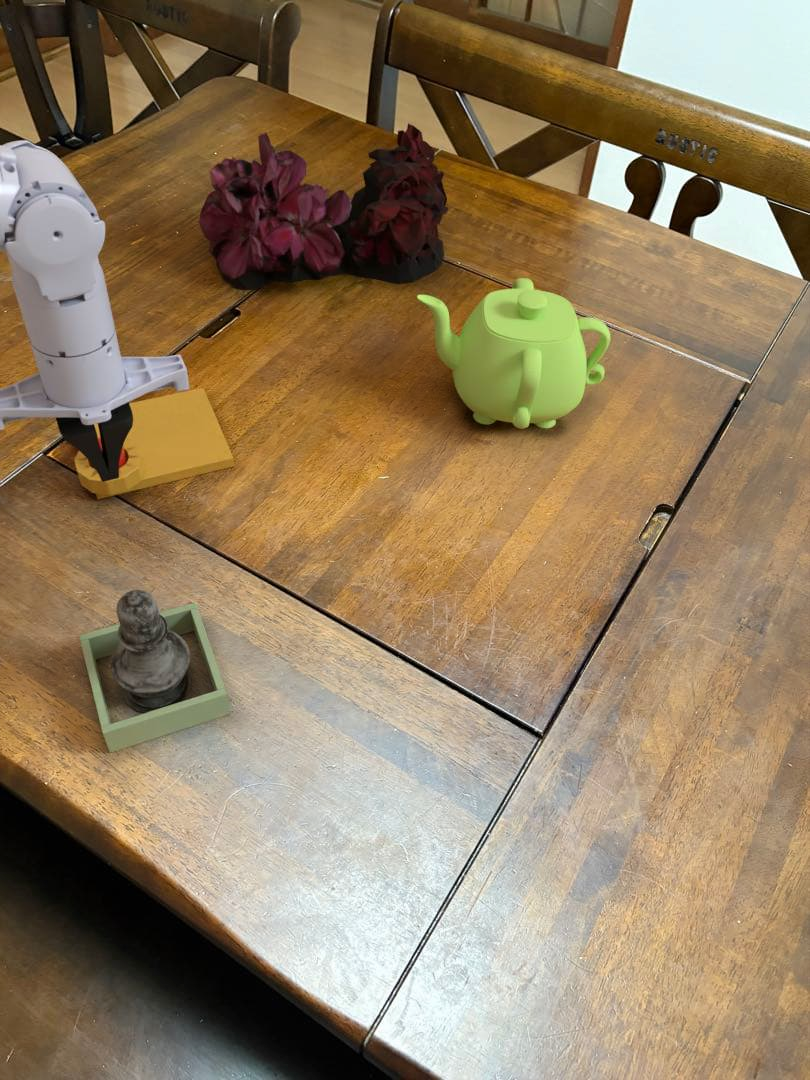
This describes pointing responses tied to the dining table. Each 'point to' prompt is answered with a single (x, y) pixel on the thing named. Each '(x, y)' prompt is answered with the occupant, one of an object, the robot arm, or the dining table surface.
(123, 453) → the stop button
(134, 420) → the control block
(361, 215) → the flower arrangement
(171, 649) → the chess piece
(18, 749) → the dining table surface
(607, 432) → the dining table surface
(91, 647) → the green square tray
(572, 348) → the teapot
